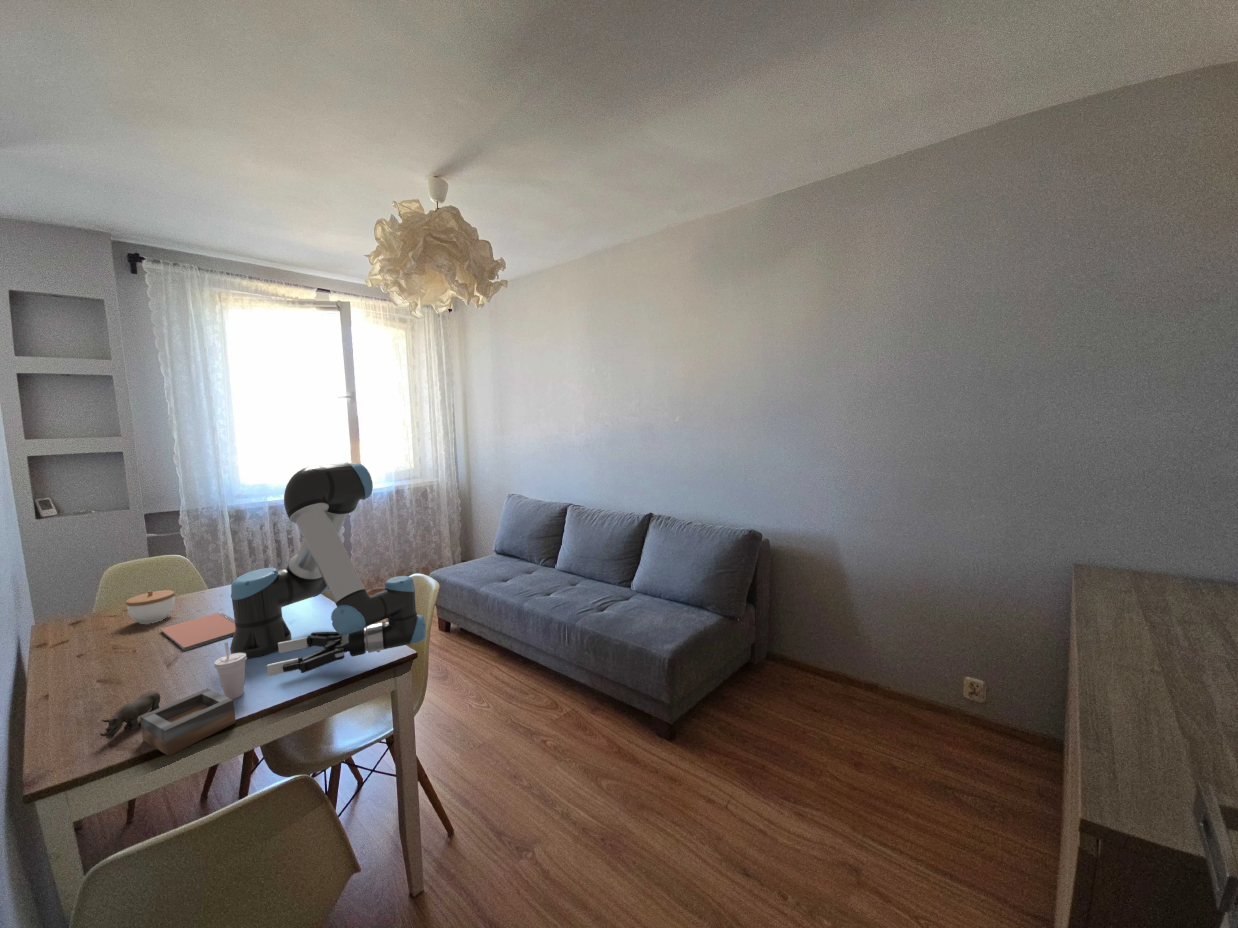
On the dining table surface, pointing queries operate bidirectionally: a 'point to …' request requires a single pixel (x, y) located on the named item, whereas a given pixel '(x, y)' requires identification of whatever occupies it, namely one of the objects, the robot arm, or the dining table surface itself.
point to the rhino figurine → (131, 713)
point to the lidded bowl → (151, 606)
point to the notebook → (200, 630)
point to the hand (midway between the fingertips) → (273, 658)
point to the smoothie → (231, 673)
